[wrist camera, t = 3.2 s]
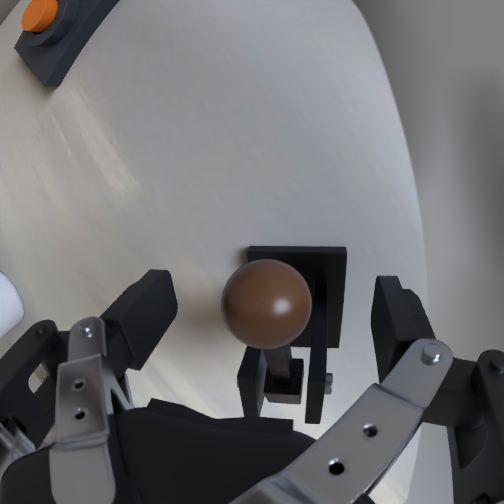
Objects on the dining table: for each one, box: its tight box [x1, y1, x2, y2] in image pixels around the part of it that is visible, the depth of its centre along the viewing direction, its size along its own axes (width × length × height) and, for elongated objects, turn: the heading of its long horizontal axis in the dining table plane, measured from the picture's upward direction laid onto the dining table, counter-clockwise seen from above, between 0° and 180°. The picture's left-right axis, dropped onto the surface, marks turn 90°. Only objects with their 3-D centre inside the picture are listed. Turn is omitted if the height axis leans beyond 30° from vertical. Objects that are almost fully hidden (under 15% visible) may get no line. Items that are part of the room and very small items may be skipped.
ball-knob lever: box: [221, 259, 312, 404], centre depth 14 cm, size 13×3×3 cm, turn 5°
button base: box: [14, 0, 119, 86], centre depth 17 cm, size 12×9×4 cm
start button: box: [22, 0, 58, 32], centre depth 15 cm, size 4×4×2 cm
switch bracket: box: [237, 246, 347, 424], centre depth 22 cm, size 10×8×12 cm
